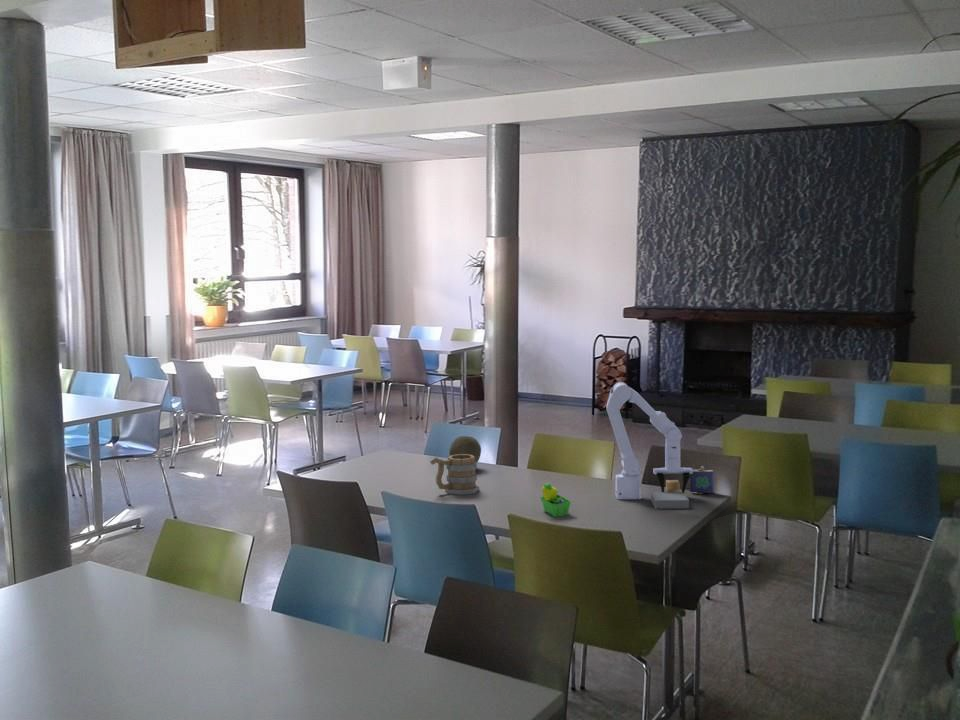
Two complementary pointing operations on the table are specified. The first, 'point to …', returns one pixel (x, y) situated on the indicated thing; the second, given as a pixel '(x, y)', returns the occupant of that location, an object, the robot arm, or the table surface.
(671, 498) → the base block
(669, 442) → the robot arm
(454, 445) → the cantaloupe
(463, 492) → the tankard
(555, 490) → the fruit basket
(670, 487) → the oak block
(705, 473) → the flask
